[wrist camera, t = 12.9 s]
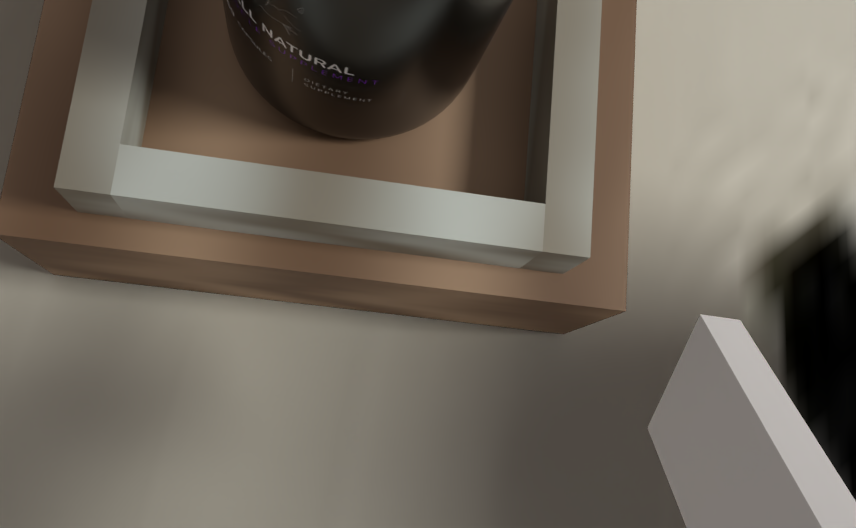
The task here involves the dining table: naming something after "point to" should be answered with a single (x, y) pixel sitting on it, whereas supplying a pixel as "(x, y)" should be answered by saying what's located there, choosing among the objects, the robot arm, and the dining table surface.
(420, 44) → the supplement bottle
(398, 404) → the dining table surface
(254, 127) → the walnut tray
